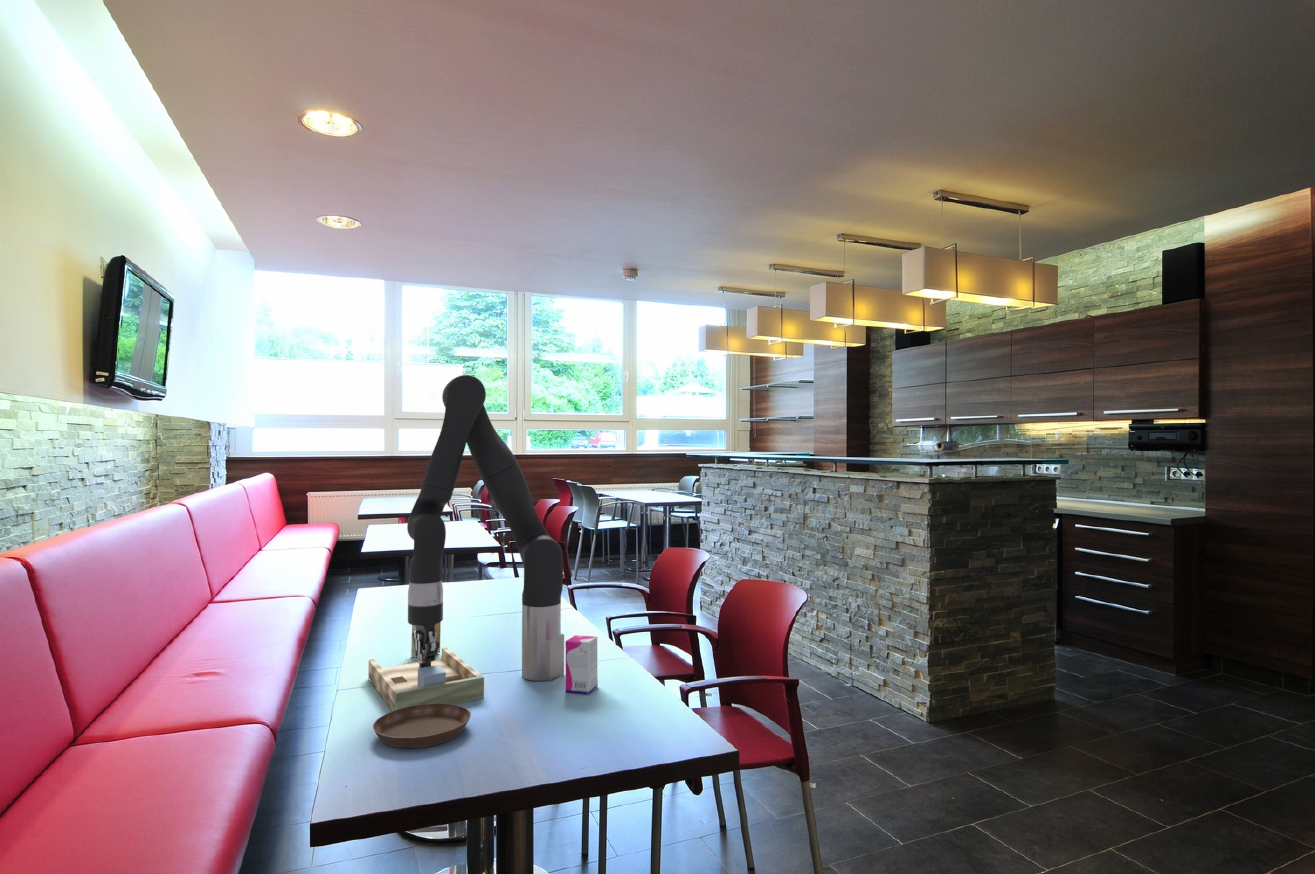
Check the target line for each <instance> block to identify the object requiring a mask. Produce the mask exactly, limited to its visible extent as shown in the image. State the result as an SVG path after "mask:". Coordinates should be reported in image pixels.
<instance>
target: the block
mask: <svg viewBox="0 0 1315 874" xmlns="http://www.w3.org/2000/svg"><path fill="white" fill-rule="evenodd" d="M445 682H446V672H445V671H444V670H443V669H442V668H441V667H440V666H439V665H435V666H429V667H423V668H418V687H423V686H429V685H434V684H440V683H445Z"/></svg>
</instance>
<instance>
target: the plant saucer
mask: <svg viewBox="0 0 1315 874" xmlns="http://www.w3.org/2000/svg"><path fill="white" fill-rule="evenodd" d="M471 716H472V715H471V711H470V709H468V708H467V707H464V706H462V705H458V704H445V703H432V704H421V705H414V706H409V707H405V708H401V709H398V710H395V711H392V710H391V711H390V712H387V713H385V714H383V715H380V717H379V718H377V719H376V720H375V721H374V723H372V729H373V731H374V733H375V735H376V736H377V737H378V738H379V739H380V740H381V741H382V742H384V743H385V745H386V744H387V745H389V746H390V747H394V748H399V749H421V748H427V747H433V746H436V745H440V744H444V743H446V742H448V741H451V740H452V739H454V738H455V737H457V736H459V734H461V732H462V731H463V729H464V728H465V727H466V726H467V724H468V722H469V721H470V719H471Z"/></svg>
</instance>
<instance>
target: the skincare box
mask: <svg viewBox="0 0 1315 874" xmlns="http://www.w3.org/2000/svg"><path fill="white" fill-rule="evenodd" d="M441 622H442V621H441ZM441 622H440V623H437V624H435V626H434V627H435V631H436V632H437V638H436V640H435V642H437V641H439V644H440V645H439V648H438V652H437V655H439V654H438V653H440V654H441V624H442V623H441ZM414 631H416V626H415V625H411V633H412V632H414ZM410 646H411V649H410V652H411V654H410V656H411V657H414V658H417V659H418V657H416V655H415V648H414V643H413V637H412V636H411V645H410Z"/></svg>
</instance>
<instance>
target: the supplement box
mask: <svg viewBox="0 0 1315 874" xmlns="http://www.w3.org/2000/svg"><path fill="white" fill-rule="evenodd" d="M564 646H565V693H571V694H579V693H582V694H581V695H590V694H591V693H592V692H593V691H595V690H596V689H597V687H598V682H599V680H598V636H596V635H595V636H591V635H577V634H575V635H573V636H572V637H569V638H568V639H567V640H565V642H564ZM596 686H597V687H596ZM583 693H584V694H583ZM589 693H590V694H589Z"/></svg>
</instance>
